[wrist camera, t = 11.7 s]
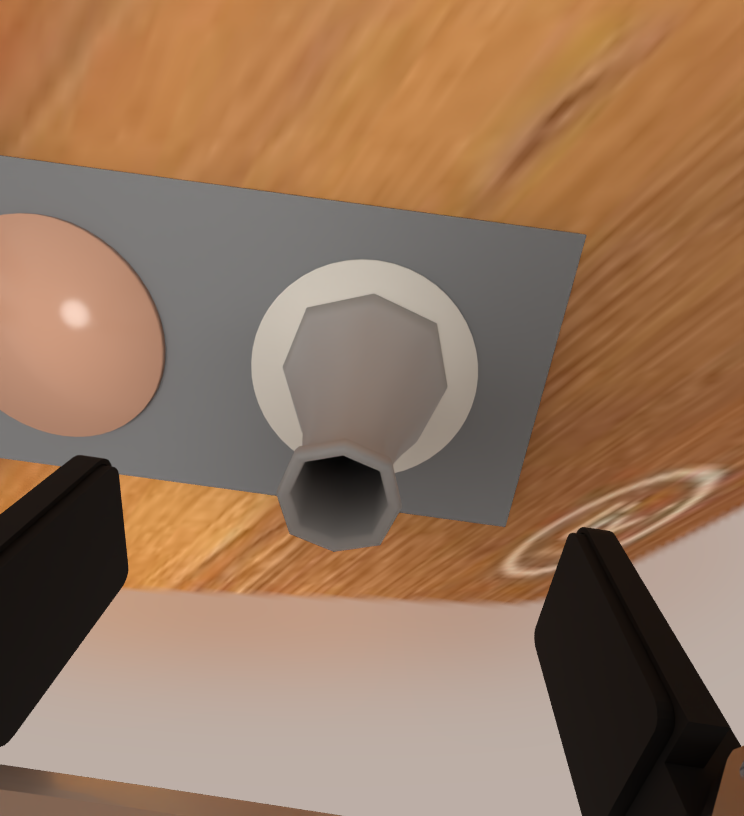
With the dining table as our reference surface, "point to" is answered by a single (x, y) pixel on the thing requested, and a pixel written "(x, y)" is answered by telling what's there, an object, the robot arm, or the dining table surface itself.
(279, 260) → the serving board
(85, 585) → the robot arm
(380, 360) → the flask
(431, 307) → the cream coaster
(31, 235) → the peach domed disc
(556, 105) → the dining table surface
